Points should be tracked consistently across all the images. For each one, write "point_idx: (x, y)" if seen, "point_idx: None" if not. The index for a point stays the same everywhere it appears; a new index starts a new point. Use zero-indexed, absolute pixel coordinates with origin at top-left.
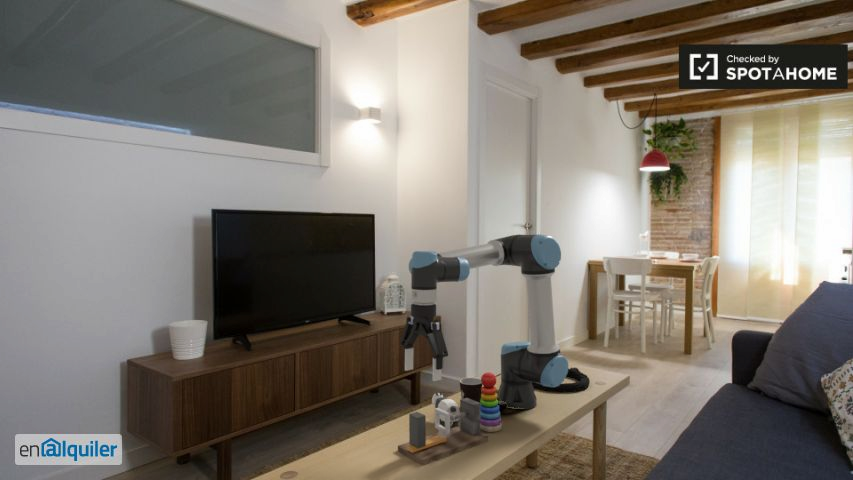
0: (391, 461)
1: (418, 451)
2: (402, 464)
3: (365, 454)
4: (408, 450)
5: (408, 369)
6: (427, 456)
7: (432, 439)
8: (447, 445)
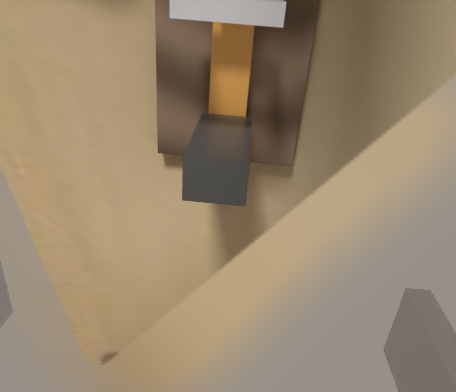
0: None
1: None
2: None
3: (125, 223)
4: None
5: (3, 296)
6: (288, 136)
7: (227, 58)
8: None
